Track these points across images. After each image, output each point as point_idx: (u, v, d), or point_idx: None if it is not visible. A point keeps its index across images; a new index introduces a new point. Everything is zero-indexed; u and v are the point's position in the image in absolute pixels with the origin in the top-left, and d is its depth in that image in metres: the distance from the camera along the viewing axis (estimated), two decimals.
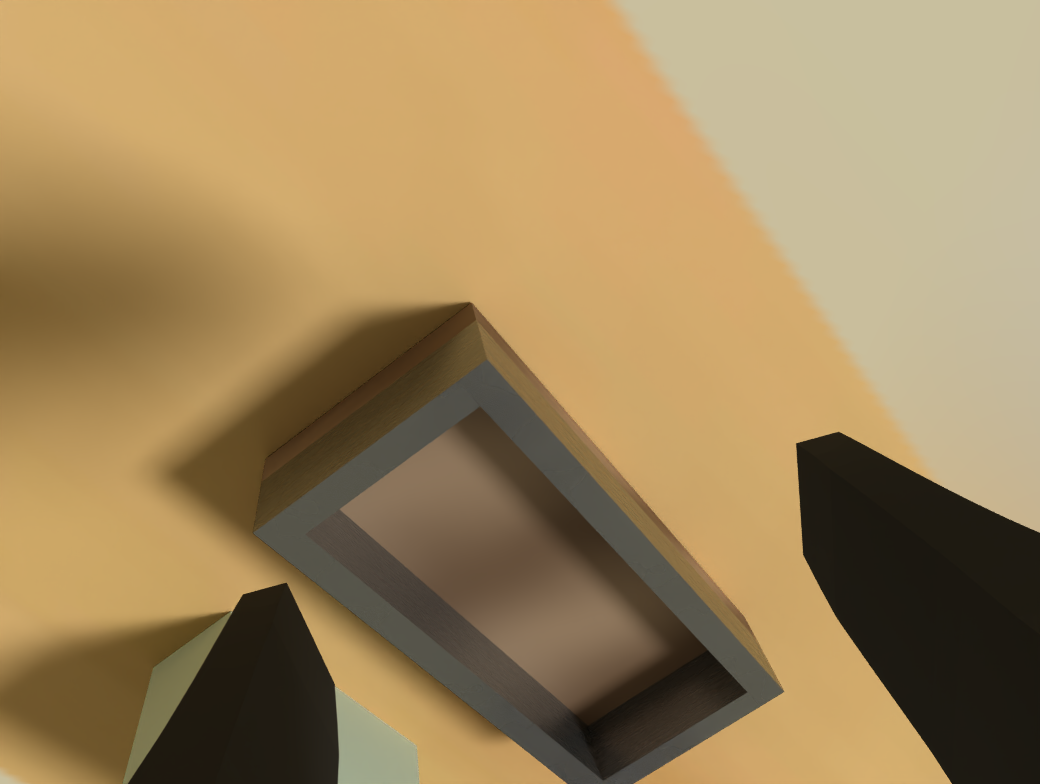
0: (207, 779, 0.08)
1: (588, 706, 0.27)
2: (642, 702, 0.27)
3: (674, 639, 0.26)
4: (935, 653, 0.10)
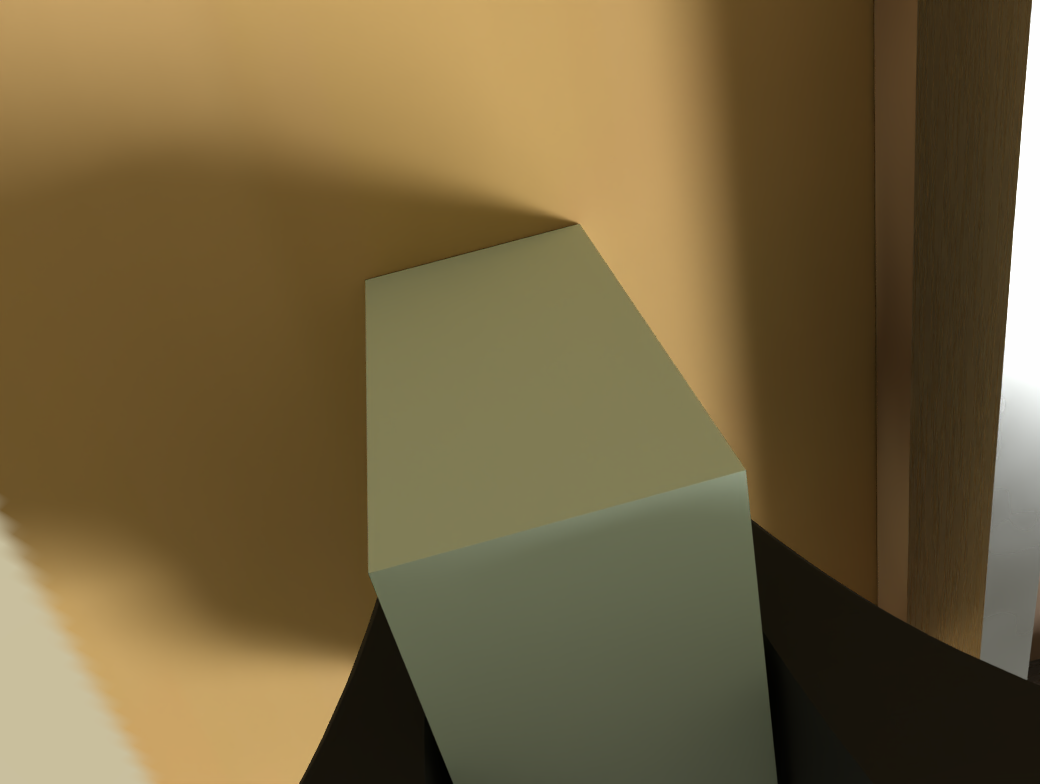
0: (415, 721, 0.08)
1: None
2: None
3: None
4: None
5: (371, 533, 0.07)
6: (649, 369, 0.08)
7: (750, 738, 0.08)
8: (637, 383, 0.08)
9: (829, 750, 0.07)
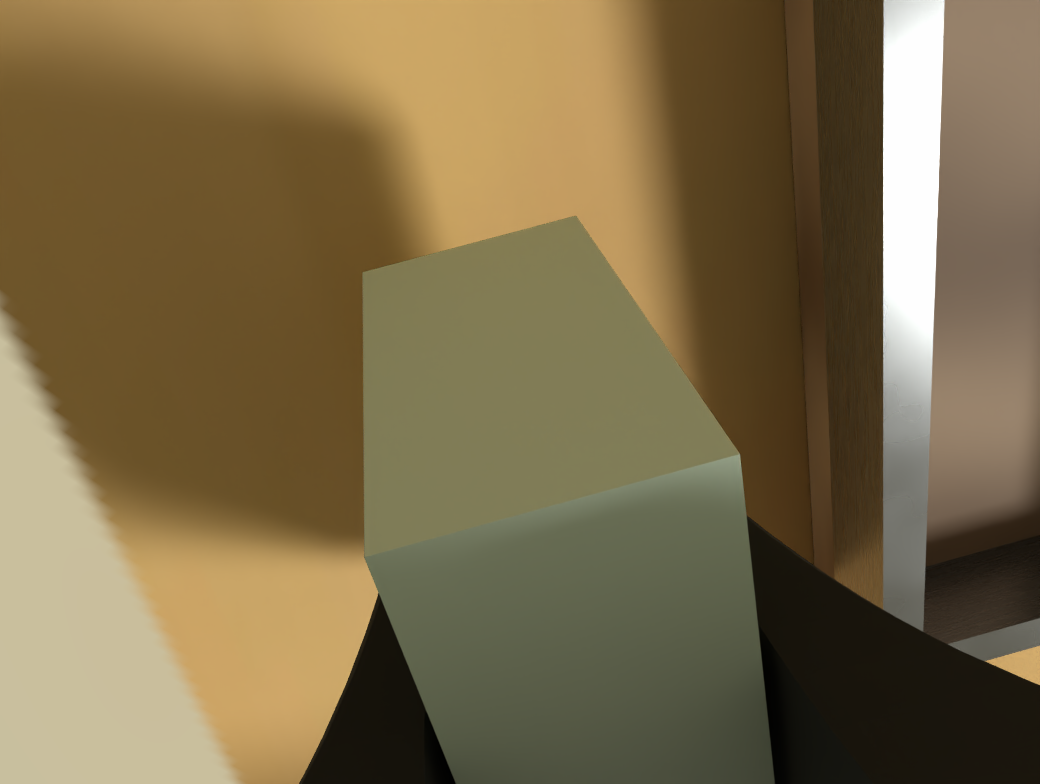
0: (415, 721, 0.08)
1: None
2: (966, 568, 0.19)
3: None
4: None
5: (368, 518, 0.07)
6: (645, 358, 0.08)
7: (746, 724, 0.08)
8: (632, 369, 0.08)
9: (829, 750, 0.07)
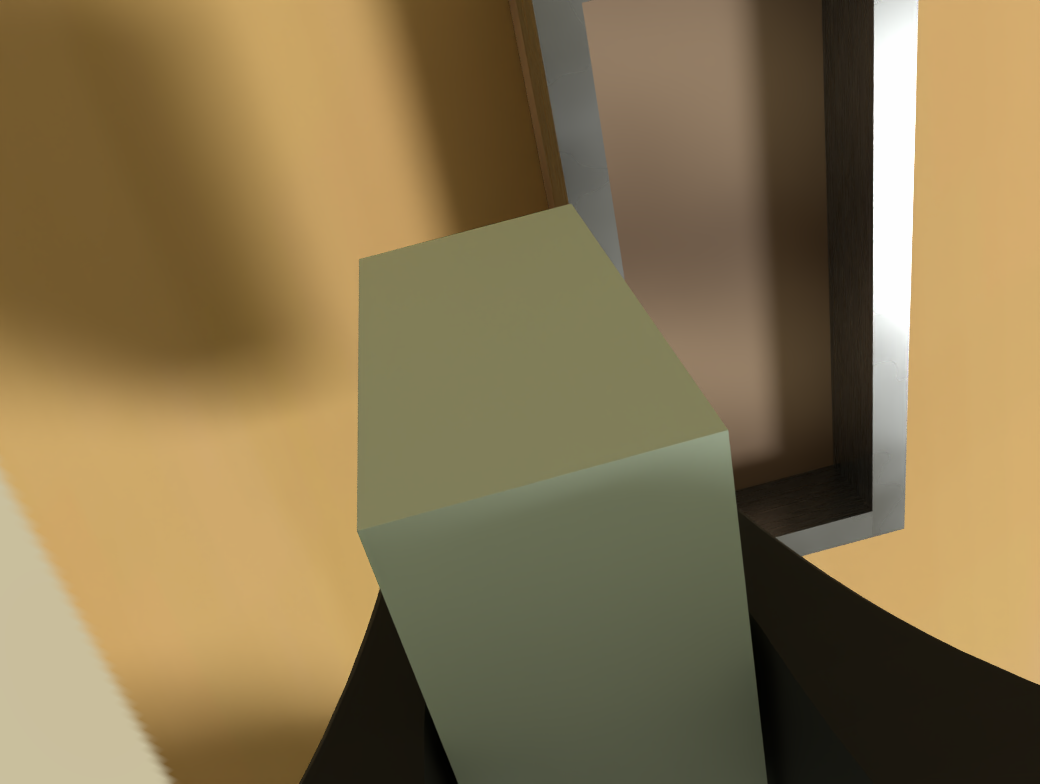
0: (415, 721, 0.08)
1: None
2: None
3: (791, 438, 0.22)
4: None
5: (361, 493, 0.07)
6: (636, 339, 0.08)
7: (736, 701, 0.08)
8: (624, 350, 0.08)
9: (829, 750, 0.07)
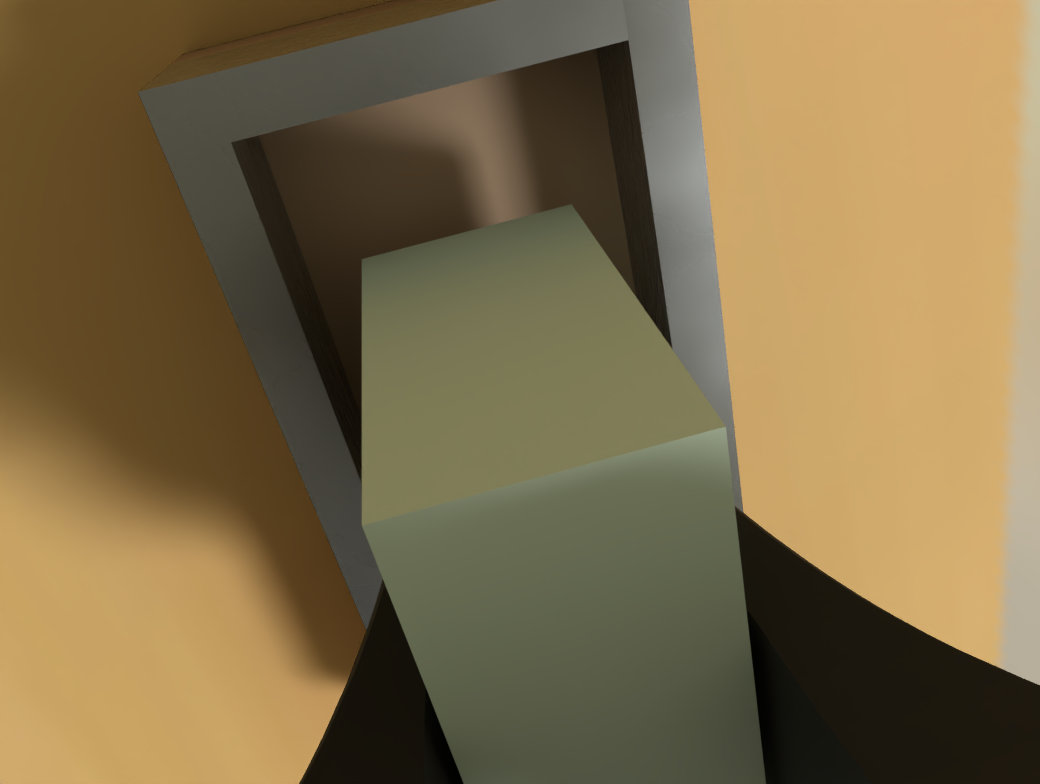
0: (415, 721, 0.08)
1: None
2: None
3: None
4: None
5: (366, 488, 0.07)
6: (635, 337, 0.09)
7: (734, 695, 0.09)
8: (624, 349, 0.08)
9: (829, 750, 0.07)
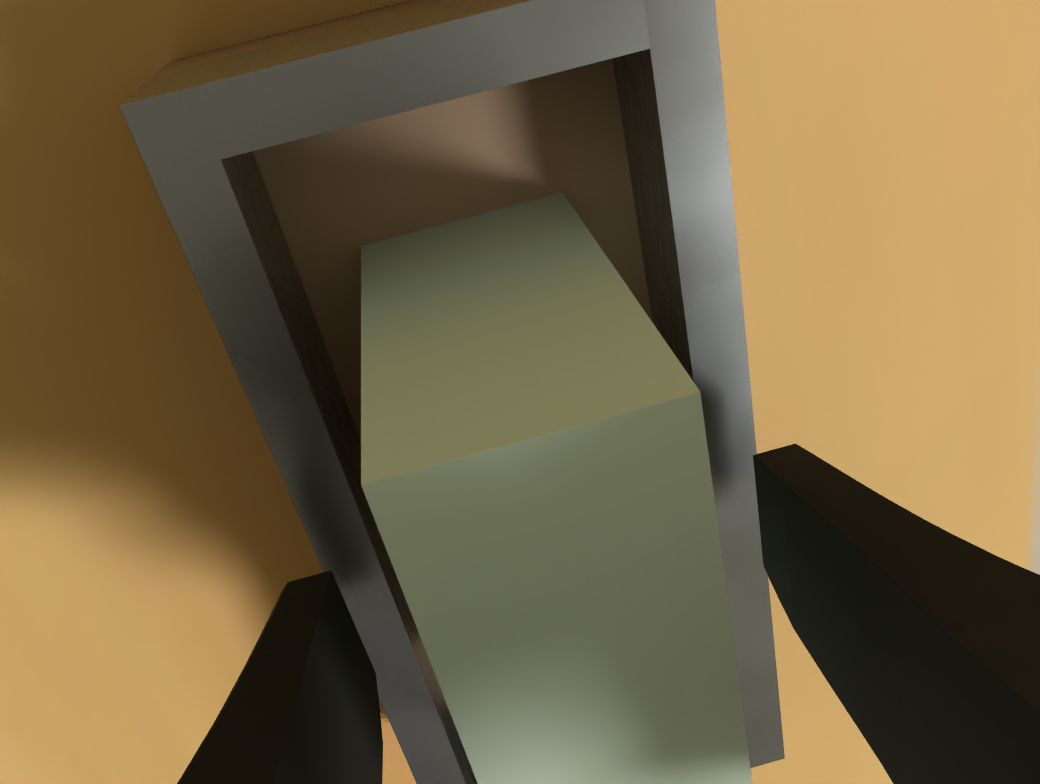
0: (269, 762, 0.08)
1: None
2: None
3: None
4: (882, 668, 0.10)
5: (365, 453, 0.08)
6: (619, 313, 0.09)
7: (713, 650, 0.09)
8: (608, 324, 0.09)
9: (995, 703, 0.07)
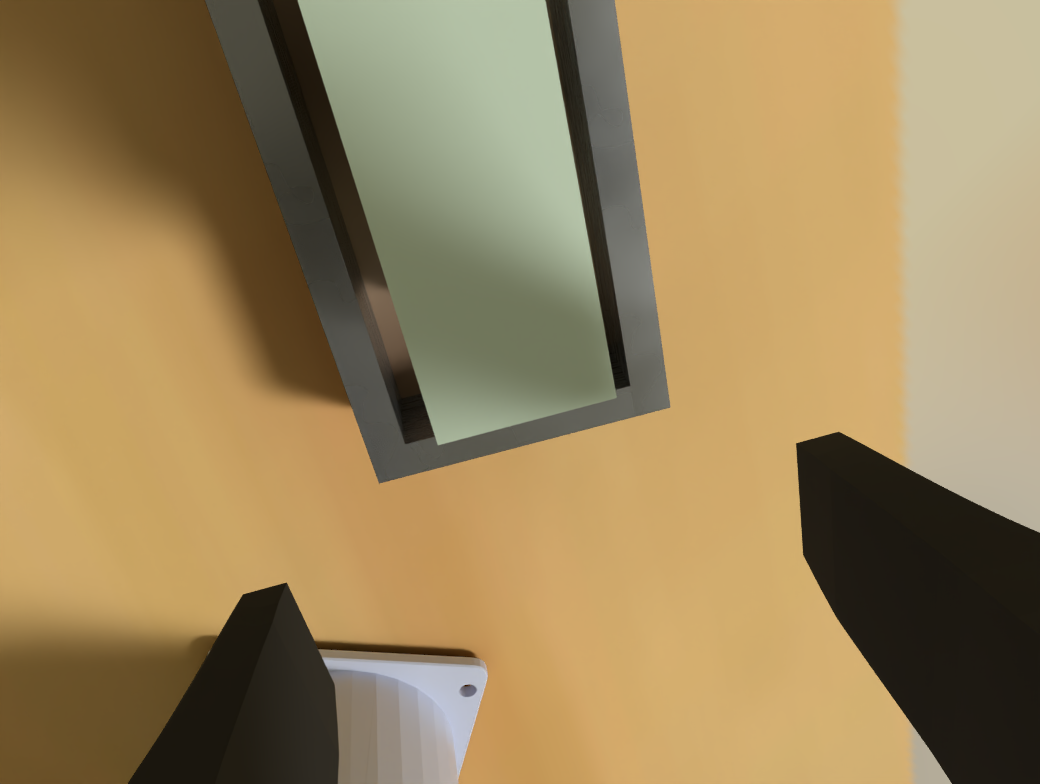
0: (207, 779, 0.08)
1: None
2: None
3: None
4: (935, 653, 0.10)
5: None
6: None
7: (547, 101, 0.12)
8: None
9: None
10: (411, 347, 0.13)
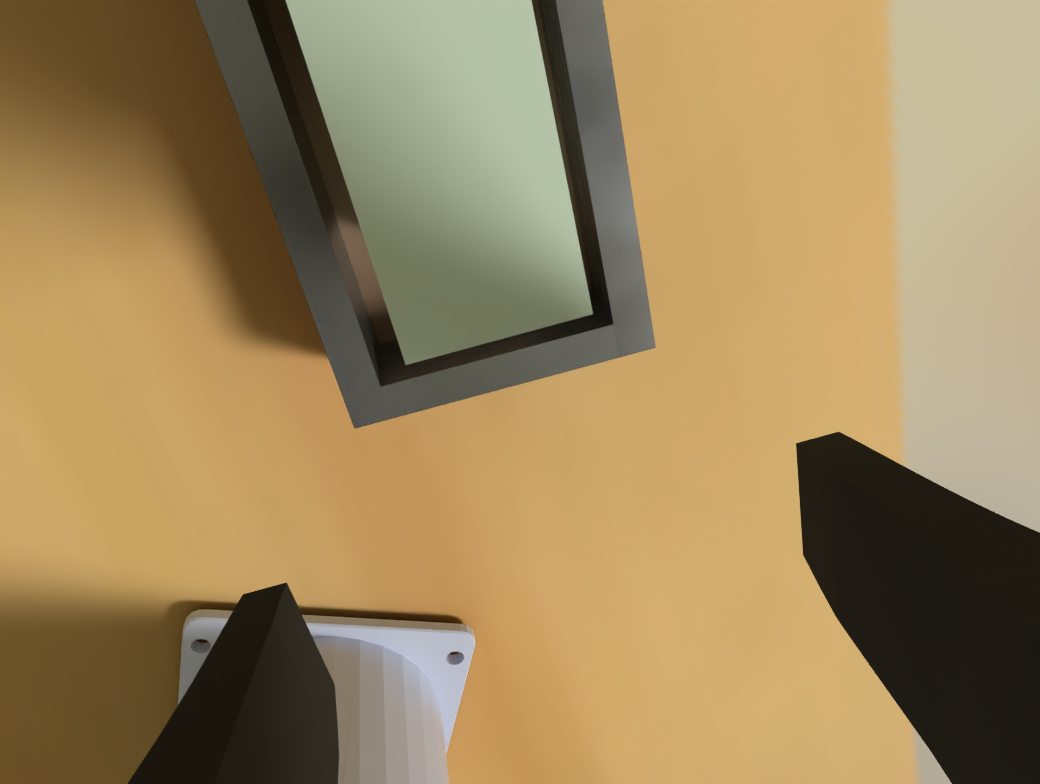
0: (207, 779, 0.08)
1: None
2: None
3: None
4: (935, 653, 0.10)
5: None
6: None
7: None
8: None
9: None
10: (374, 256, 0.13)
